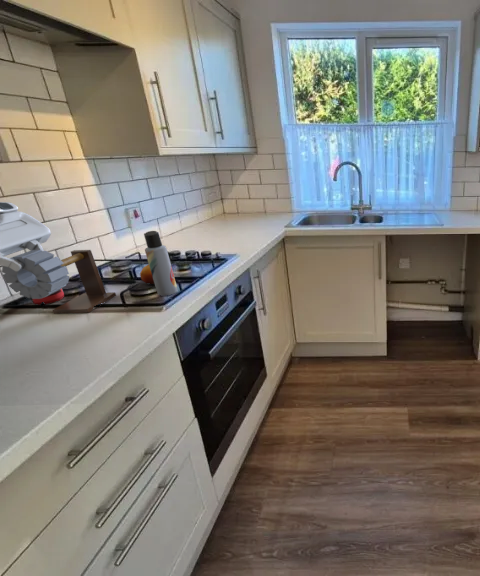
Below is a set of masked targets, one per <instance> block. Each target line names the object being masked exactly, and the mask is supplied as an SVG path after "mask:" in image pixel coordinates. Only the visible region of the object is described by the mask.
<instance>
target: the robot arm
mask: <svg viewBox="0 0 480 576" xmlns="http://www.w3.org/2000/svg"><path fill="white" fill-rule="evenodd" d="M51 234H52V231H51V229H50V228H49V227H48V226H46V225H45V224H44V223H43V222H41V221H39V220H38V219H37V218H35V217H34V216H32V215H31V214H29V213H27V212H24V211H21V210H20V211H19V207H18V206H17V205H16V204H15V203H12V202H8V201H0V266H2V267H3V266H6V267H9V268H11V269H13V270H14V271H19V270H22V269H24V267H25V263H23V262H21V261H20V260H19V259H17V260H13V259H10V258H11V257H10V258H9V257H6V256H9V255H13V254H15V253H18V252H20V251H23V250H26V249H27V250H29V251H32V250H42V251H45V249H44V248H43V246H42V244H44V243H46V242H47V241H48V240H49V238H50V236H51Z"/></svg>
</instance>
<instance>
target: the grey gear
mask: <svg viewBox="0 0 480 576" xmlns="http://www.w3.org/2000/svg"><path fill="white" fill-rule="evenodd" d="M10 259H13V260H17V259H19V260H20V261H21V262H23V263H25V267H24V269H22V270H19V271H14V270H13V269H11V268H9V267H6V266H2V268H1V273H3V274H2V277H3V279H4V281H5V284H9V285H8V287H9V288H10V289H12V291H14V292H15V293H19V295H20V296H22V297H25V298H27V299H30V297H31V298H32V299H41V298H44V297H46V296H48V295H50V294H52V293H54V292H56V291H58V290H60V289H62V290H63V288H65V287H66V286H67V284H69V281H70V275H69V274H70V272H69V270H68V268H67V267H68V266H61V265H62V264H64V263H63V262H62V261H61V260H62V259H60V257H58V256H55V254H54V253H52V252H49V251H47V250H44V251H42V250H32V251H30V250H29V251H26V252H23V253H20V254H18V255H14V256H12V257H10Z"/></svg>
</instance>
